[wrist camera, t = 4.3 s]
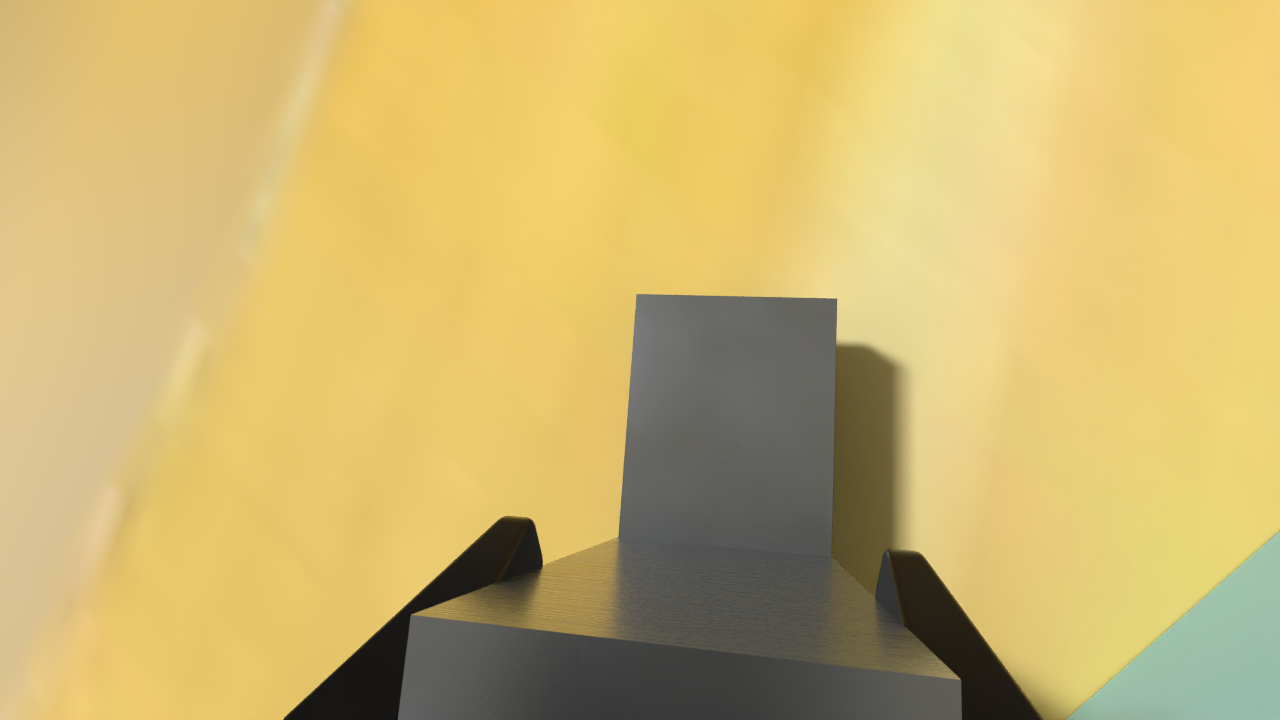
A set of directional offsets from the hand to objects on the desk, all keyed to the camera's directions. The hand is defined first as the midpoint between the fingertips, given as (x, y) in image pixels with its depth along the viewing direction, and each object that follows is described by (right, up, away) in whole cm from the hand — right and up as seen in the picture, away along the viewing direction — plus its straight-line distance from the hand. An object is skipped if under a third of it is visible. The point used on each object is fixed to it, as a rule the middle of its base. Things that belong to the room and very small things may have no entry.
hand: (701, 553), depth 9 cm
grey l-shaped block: (+1, 0, +7) cm, 7 cm away
